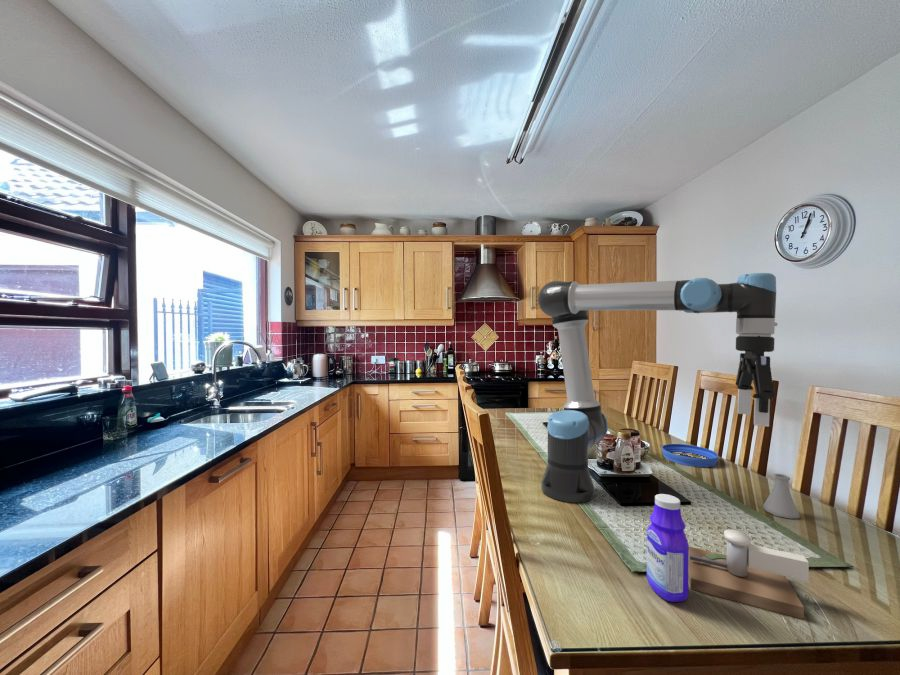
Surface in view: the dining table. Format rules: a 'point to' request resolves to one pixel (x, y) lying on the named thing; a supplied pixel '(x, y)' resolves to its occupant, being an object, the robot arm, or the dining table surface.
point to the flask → (781, 499)
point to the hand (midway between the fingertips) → (752, 419)
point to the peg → (758, 558)
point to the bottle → (667, 550)
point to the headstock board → (743, 585)
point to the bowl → (690, 460)
